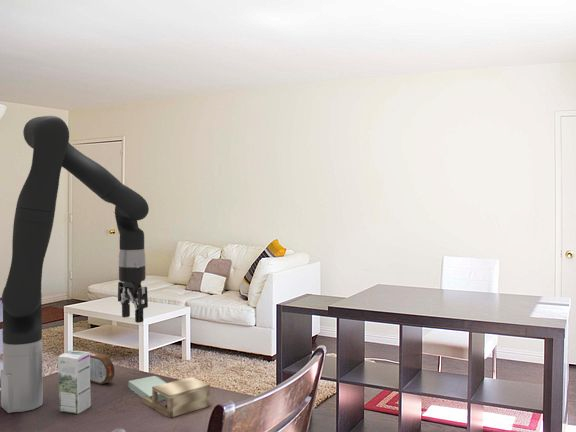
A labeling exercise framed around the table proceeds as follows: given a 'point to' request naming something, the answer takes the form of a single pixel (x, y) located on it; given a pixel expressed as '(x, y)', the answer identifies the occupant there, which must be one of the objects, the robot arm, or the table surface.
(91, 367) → the tin
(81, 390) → the syrup box
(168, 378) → the table surface
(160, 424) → the table surface
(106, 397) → the table surface
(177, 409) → the beige forked block
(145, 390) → the panel
